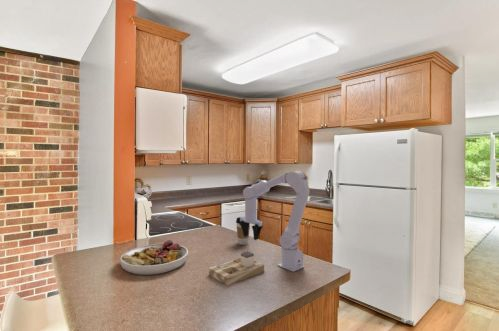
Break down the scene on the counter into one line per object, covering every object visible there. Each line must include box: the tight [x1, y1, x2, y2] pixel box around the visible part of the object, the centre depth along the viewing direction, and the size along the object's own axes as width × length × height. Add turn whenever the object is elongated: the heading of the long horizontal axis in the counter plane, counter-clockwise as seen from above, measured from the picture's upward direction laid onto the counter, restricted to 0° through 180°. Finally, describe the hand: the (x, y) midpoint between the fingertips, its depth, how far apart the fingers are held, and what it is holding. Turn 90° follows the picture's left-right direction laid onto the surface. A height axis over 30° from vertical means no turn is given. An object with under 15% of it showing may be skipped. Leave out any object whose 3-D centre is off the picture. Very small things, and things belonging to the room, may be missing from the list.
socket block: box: [208, 257, 265, 286], centre depth 119 cm, size 13×20×3 cm, turn 132°
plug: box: [240, 250, 255, 268], centre depth 121 cm, size 4×4×8 cm
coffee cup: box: [235, 216, 251, 246], centre depth 161 cm, size 8×8×15 cm
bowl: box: [119, 239, 189, 276], centre depth 130 cm, size 30×30×8 cm
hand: (250, 237), depth 138 cm, fingers open, 7 cm apart
